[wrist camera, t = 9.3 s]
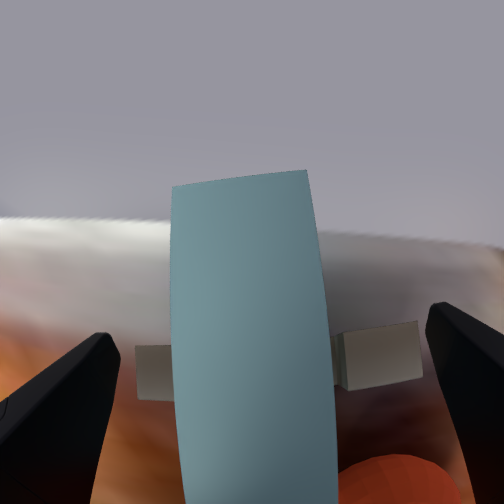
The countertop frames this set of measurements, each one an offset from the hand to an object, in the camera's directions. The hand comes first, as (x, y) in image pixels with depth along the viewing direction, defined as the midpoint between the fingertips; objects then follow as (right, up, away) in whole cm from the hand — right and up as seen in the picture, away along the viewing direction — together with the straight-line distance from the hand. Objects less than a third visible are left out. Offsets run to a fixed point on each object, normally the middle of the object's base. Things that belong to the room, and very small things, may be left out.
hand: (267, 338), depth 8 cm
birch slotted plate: (+1, -3, +7) cm, 8 cm away
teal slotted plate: (+1, -4, +7) cm, 8 cm away
